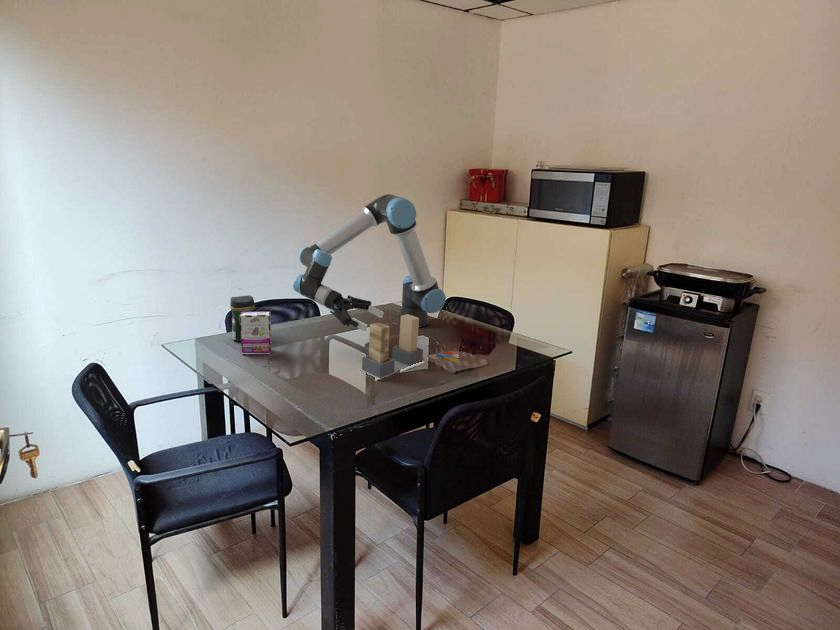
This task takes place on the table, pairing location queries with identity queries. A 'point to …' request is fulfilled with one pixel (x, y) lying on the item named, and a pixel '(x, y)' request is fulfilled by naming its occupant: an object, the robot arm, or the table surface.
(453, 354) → the wooden puzzle
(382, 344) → the oak slat
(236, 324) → the coffee jar
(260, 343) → the candy bar box
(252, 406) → the table surface
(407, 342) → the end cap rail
